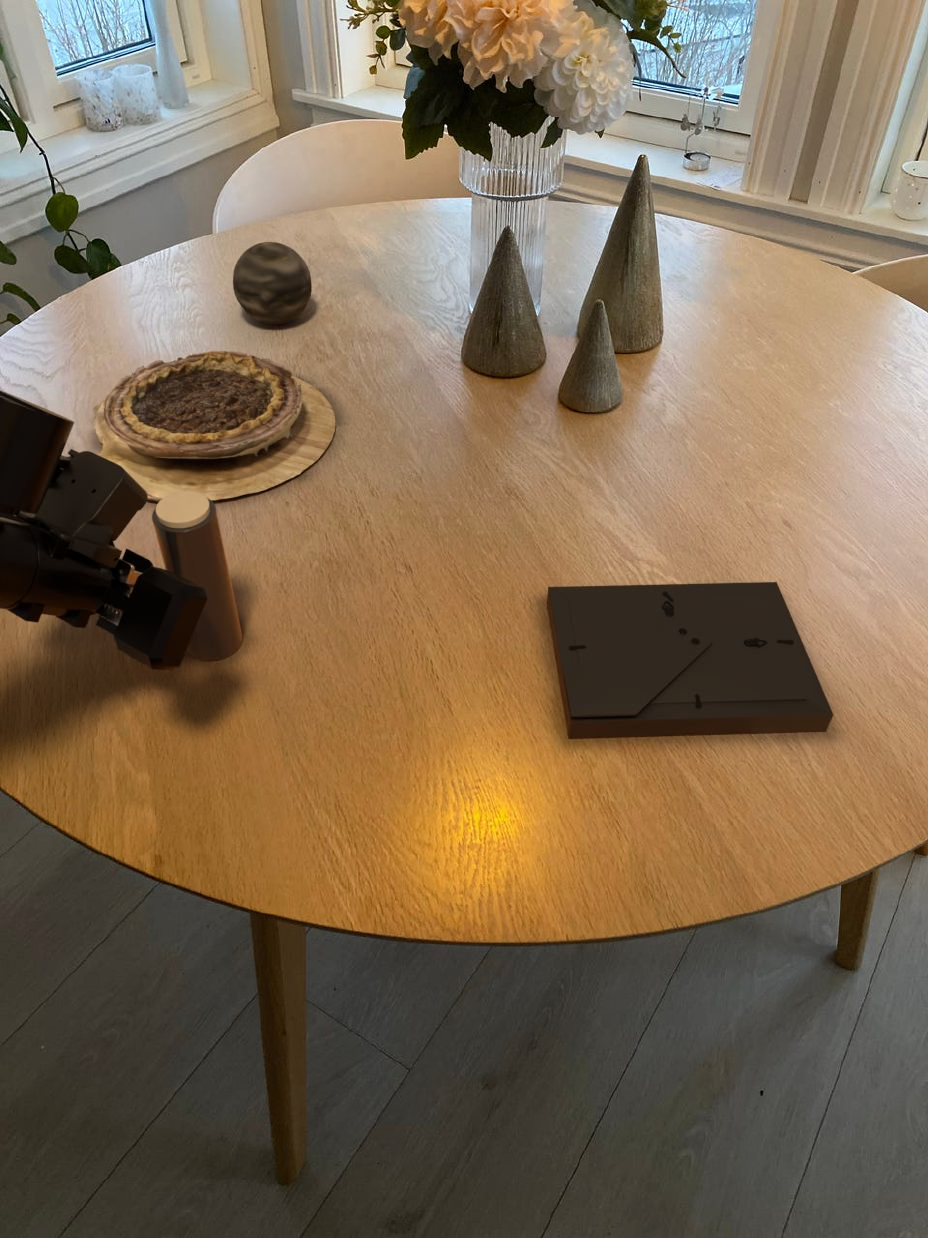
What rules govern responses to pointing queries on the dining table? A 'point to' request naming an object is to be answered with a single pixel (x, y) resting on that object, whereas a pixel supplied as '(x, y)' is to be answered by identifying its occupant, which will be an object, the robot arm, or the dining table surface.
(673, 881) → the dining table surface
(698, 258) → the dining table surface
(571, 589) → the picture frame
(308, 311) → the dining table surface
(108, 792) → the dining table surface
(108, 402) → the pie
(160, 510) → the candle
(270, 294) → the decorative stone
